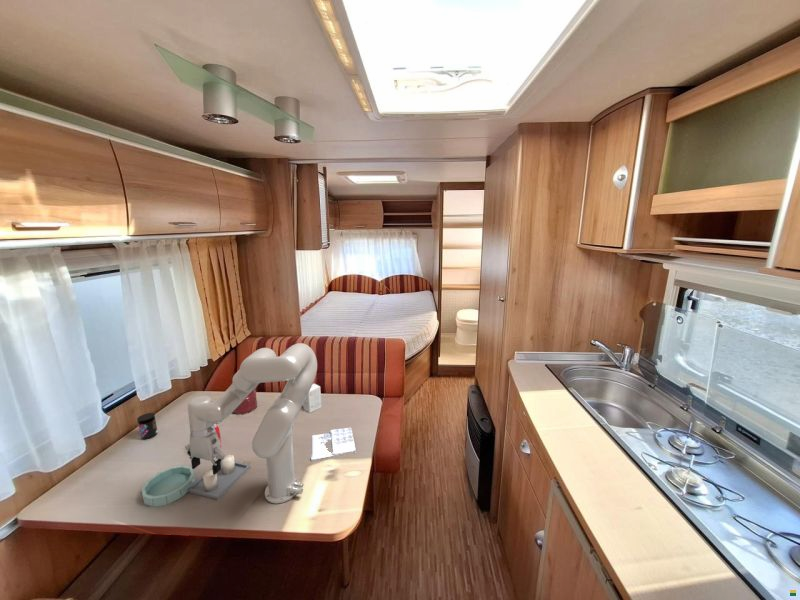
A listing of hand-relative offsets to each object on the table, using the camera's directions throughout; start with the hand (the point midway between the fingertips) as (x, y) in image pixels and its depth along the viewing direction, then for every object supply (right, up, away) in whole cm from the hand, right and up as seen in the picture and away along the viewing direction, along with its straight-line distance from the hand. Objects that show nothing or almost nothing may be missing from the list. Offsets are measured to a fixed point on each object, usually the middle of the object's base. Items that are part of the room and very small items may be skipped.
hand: (206, 469), depth 119 cm
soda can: (-12, -4, +24) cm, 27 cm away
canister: (-14, +3, +58) cm, 60 cm away
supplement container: (-49, -2, +33) cm, 59 cm away
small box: (+24, +3, +58) cm, 63 cm away
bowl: (-15, -9, +1) cm, 17 cm away
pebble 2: (+3, -6, +10) cm, 12 cm away
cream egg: (+1, -8, +2) cm, 8 cm away
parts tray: (+2, -8, +6) cm, 10 cm away
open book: (+42, -4, +28) cm, 51 cm away
